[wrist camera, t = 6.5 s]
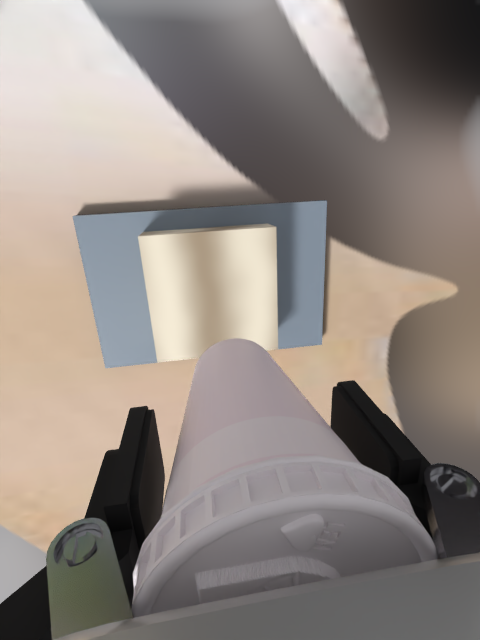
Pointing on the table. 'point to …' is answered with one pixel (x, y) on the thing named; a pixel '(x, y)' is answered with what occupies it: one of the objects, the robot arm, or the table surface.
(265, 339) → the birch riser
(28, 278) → the table surface
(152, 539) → the smoothie
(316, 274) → the board
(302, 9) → the table surface
